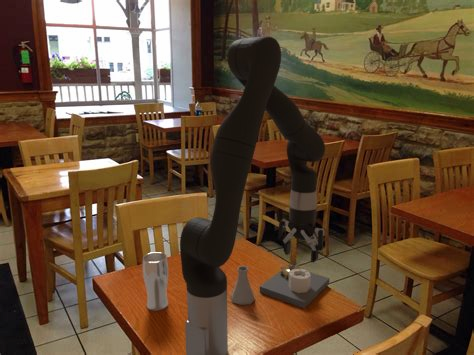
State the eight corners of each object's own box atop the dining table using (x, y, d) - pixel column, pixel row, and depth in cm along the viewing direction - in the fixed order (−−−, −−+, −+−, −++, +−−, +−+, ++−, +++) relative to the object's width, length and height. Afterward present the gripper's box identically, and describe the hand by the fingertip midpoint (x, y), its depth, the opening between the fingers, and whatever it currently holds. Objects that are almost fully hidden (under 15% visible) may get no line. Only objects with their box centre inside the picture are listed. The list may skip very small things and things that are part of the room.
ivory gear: (303, 294, 119) (304, 280, 118) (285, 288, 122) (285, 274, 121) (312, 286, 124) (313, 272, 122) (295, 280, 127) (295, 267, 126)
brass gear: (296, 282, 126) (296, 273, 125) (275, 275, 130) (275, 266, 130) (307, 272, 132) (307, 264, 131) (287, 266, 136) (287, 258, 135)
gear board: (304, 308, 116) (304, 291, 114) (259, 292, 124) (259, 275, 123) (329, 283, 129) (330, 268, 127) (287, 270, 137) (287, 255, 136)
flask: (252, 307, 116) (253, 275, 114) (228, 304, 118) (227, 272, 115) (256, 294, 123) (257, 263, 121) (233, 291, 125) (233, 261, 122)
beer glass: (145, 313, 114) (142, 264, 110) (144, 300, 120) (141, 253, 116) (171, 309, 115) (168, 261, 111) (168, 296, 122) (166, 250, 118)
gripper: (274, 203, 118) (273, 255, 121) (320, 213, 109) (317, 269, 113) (287, 197, 123) (285, 247, 127) (331, 206, 115) (328, 259, 119)
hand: (300, 257), depth 120 cm, fingers open, 8 cm apart
